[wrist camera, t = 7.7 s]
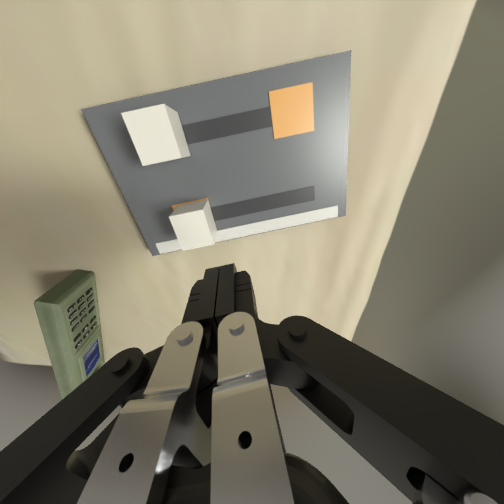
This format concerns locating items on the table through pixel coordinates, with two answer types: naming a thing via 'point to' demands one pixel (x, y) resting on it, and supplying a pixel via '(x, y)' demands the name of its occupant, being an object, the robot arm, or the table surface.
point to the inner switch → (156, 134)
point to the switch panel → (240, 151)
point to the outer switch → (194, 225)
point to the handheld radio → (72, 329)
